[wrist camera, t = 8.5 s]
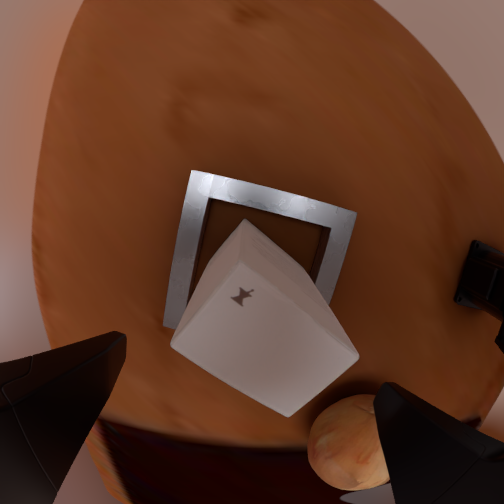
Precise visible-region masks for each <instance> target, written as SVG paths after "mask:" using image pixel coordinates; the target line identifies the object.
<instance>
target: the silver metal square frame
mask: <svg viewBox="0 0 504 504" xmlns="http://www.w3.org/2000/svg"><path fill="white" fill-rule="evenodd" d="M212 198H215V199H219V200H224V201H228V202H232V203H236V204H241V205H245V206H249V207H253V208H257V209H261V210H265V211H269V212H273V213H277V214H281V215H285V216H289V217H292V218H296V219H300V220H304V221H308V222H311V223H315V224H319V225H322V226H324V227H323V231H322V235H321V238H320V242H319V245H318V249H317V252H316V256H315V259H314V262H313V266H312V269H311V272H310V276H309V277H310V278H311V280H312V282H313V283H314V285H315V286H316V288H317V289H318V291H319V292H320V294H321V295H322V297H323V298H324V300H325V301H326V303H327V304H328V306H329V303H330V300H331V298H332V295H333V292H334V289H335V286H336V283H337V280H338V277H339V274H340V270H341V267H342V264H343V261H344V258H345V254H346V251H347V248H348V244H349V241H350V237H351V234H352V230H353V227H354V223H355V219H356V216H357V213H356V212H353V211H350V210H347V209H344V208H340V207H337V206H334V205H330V204H327V203H324V202H320V201H317V200H313V199H310V198H306V197H303V196H299V195H295V194H292V193H288V192H284V191H280V190H277V189H273V188H269V187H265V186H261V185H257V184H253V183H249V182H244V181H240V180H236V179H232V178H227V177H223V176H218V175H214V174H209V173H204V172H200V171H195V170H191V174H190V179H189V183H188V187H187V192H186V196H185V201H184V205H183V210H182V215H181V219H180V224H179V229H178V234H177V240H176V245H175V250H174V256H173V262H172V267H171V273H170V280H169V286H168V292H167V299H166V306H165V313H164V321H163V326H165V327H168V328H172V329H177V327H178V325H179V323H180V321H181V318H182V316H183V314H184V312H185V310H186V307H187V305H188V303H189V301H190V299H191V295H192V290H193V285H194V280H195V274H196V269H197V264H198V259H199V255H200V250H201V245H202V240H203V236H204V231H205V226H206V222H207V217H208V213H209V209H210V204H211V200H212Z"/></svg>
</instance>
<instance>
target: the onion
mask: <svg viewBox="0 0 504 504" xmlns="http://www.w3.org/2000/svg"><path fill="white" fill-rule="evenodd" d="M374 398H375V395H369V394H358V395H354V396H350V397H347V398H344V399H341V400H339V401H338V402H336V403H334V404H332V405H331V406H329V407H328V408H326V409H325V410H324V411H323V412H322V413H321V414H320V415H318V417H317V418H316V420H315V421H314V423H313V425H312V428H311V431H310V435H309V439H308V458H309V462H310V464H311V466H312V468H313V470H314V471H315V472H316V473H317V474H318V476H320V477H321V478H322V479H323V480H324V481H325V482H326V483H328V484H330V485H331V486H333V487H336V488H339V489H343V490H363V489H369V488H373V487H376V486H379V485H382V484H384V483H386V482H387V481H388V480H389V479H390V478H389V474H388V470H387V466H386V462H385V458H384V454H383V451H382V447H381V443H380V440H379V435H378V430H377V424H376V418H375V413H374V407H373V400H374Z"/></svg>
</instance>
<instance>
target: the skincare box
mask: <svg viewBox="0 0 504 504" xmlns="http://www.w3.org/2000/svg"><path fill="white" fill-rule="evenodd" d="M170 345H171V347H172V348H173V349H175V350H176V351H178V352H179V353H180V354H182V355H183V356H185V357H186V358H188V359H189V360H191V361H192V362H194V363H195V364H197V365H198V366H200V367H201V368H203V369H204V370H206V371H207V372H209V373H210V374H212V375H214V376H215V377H217V378H218V379H220V380H222V381H223V382H225V383H227V384H228V385H230V386H232V387H233V388H235V389H237V390H239V391H240V392H242V393H244V394H246V395H247V396H249V397H251V398H253V399H254V400H256V401H258V402H260V403H262V404H263V405H265V406H267V407H269V408H271V409H273V410H275V411H277V412H278V413H280V414H282V415H284V416H286V417H290V416H291V415H292V414H294V413H295V412H296V411H298V410H299V409H300V408H301V407H303V406H304V405H305V404H306V403H308V402H309V401H310V400H311V399H313V398H314V397H315V396H316V395H317V394H319V393H320V392H321V391H322V390H324V389H325V388H326V387H327V386H328V385H330V384H331V383H332V382H333V381H334V380H335V379H337V378H338V377H339V376H340V375H341V374H342V373H344V372H345V371H346V370H347V369H348V368H349V367H350V366H352V365H353V364H354V363H355V362H356V361H357V360H358V359H359V354H358V352H357V350H356V349H355V347H354V346H353V344H352V342H351V341H350V339H349V338H348V336H347V334H346V333H345V331H344V329H343V328H342V326H341V325H340V323H339V321H338V320H337V318H336V317H335V315H334V314H333V312H332V310H331V309H330V307H329V306H328V304H327V303H326V301H325V300H324V298H323V297H322V295H321V294H320V292H319V291H318V289H317V288H316V286H315V285H314V283H313V282H312V280H311V278H310V277H309V275H308V274H307V272H306V271H305V269H304V268H303V267H302V266H301V265H300V264H299V263H297V262H296V261H295V260H294V259H293V258H292V257H290V256H289V255H288V254H287V253H286V252H285V251H283V250H282V249H281V248H280V247H279V246H278V245H276V244H275V243H274V242H273V241H272V240H271V239H269V238H268V237H267V236H266V235H265V234H263V233H262V232H261V231H260V230H259V229H257V228H256V227H255V226H254V225H253V224H251V223H250V222H249V221H248V220H247V219H243V221H242V222H241V223H240V224H239V225H238V226H237V228H236V229H235V230H234V231H233V232H232V233H231V235H230V236H229V237H228V238H227V239H226V240H225V242H224V243H223V244H222V245H221V247H220V248H219V249H218V250H217V252H216V253H215V254H214V255H213V257H212V258H211V259H210V260H209V262H208V264H207V266H206V268H205V270H204V272H203V274H202V276H201V278H200V280H199V283H198V285H197V287H196V289H195V291H194V293H193V295H192V297H191V299H190V301H189V303H188V305H187V307H186V310H185V312H184V314H183V316H182V318H181V321H180V323H179V325H178V327H177V329H176V331H175V333H174V335H173V337H172V340H171V342H170Z"/></svg>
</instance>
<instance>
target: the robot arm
mask: <svg viewBox="0 0 504 504" xmlns="http://www.w3.org/2000/svg"><path fill="white" fill-rule="evenodd" d="M458 299H459V300H458ZM454 301H455V303H457V304H459V305H463V306H467V307H472V308H476V309H481V310H484V311H486V312H487V313H489V314H490V315H492V316H494V317H495V318H497V319H498V320H500V321H501V322H502V324H501V327H500V330H499V333H498V336H496V339H495V343H496V344H497V345H498V347H499V348H500V349H501V351H502V352H503V353H504V253H502V252H500V251H498V250H496V249H494V248H492V247H490V246H488V245H486V244H484V243H482V242H480V241H477V240H474V241H473V242H472V246H471V249H470V253H469V256H468V260H467V263H466V266H465V269H464V273H463V276H462V279H461V282H460V284H459V287H458V290H457V293H456V295H455V298H454ZM126 342H127V338H126V335H125V334H123V333H120V332H117V331H112V332H109V333H106V334H102V335H99V336H96V337H93V338H89V339H86V340H83V341H80V342H76V343H73V344H70V345H66V346H63V347H59V348H56V349H53V350H49V351H46V352H42V353H39V354H35V355H33V356H28V357H24V358H20V359H17V360H12V361H8V362H3V363H0V504H53V502H54V500H55V498H56V496H57V492H58V491H59V489H60V487H61V485H62V483H63V481H64V479H65V477H66V475H67V473H68V471H69V469H70V467H71V465H72V464H73V461H74V460H75V458H76V456H77V454H78V452H79V450H80V448H81V446H82V444H83V443H84V441H85V439H86V437H87V436H88V434H89V432H90V430H91V428H92V427H93V425H94V423H95V421H96V419H97V418H98V416H99V414H100V412H101V411H102V409H103V407H104V405H105V404H106V402H107V400H108V398H109V396H110V394H111V392H112V390H113V387H114V385H115V383H116V380H117V378H118V376H119V373H120V371H121V369H122V366H123V364H124V362H125V358H126ZM373 407H374V413H375V418H376V424H377V430H378V435H379V440H380V443H381V447H382V451H383V454H384V458H385V462H386V466H387V470H388V474H389V478H390V482H391V486H392V490H393V495H394V499H395V503H396V504H504V443H503V442H501V441H499V440H496V439H494V438H492V437H490V436H488V435H486V434H484V433H481V432H479V431H477V430H475V429H474V428H472V427H470V426H468V425H466V424H464V423H463V422H461V421H459V420H457V419H455V418H454V417H452V416H450V415H448V414H447V413H445V412H443V411H441V410H440V409H438V408H436V407H435V406H433V405H431V404H429V403H428V402H426V401H424V400H423V399H421V398H419V397H418V396H416V395H414V394H413V393H411V392H409V391H408V390H406V389H404V388H403V387H401V386H399V385H398V384H396V383H394V382H385V383H383V384H382V386H381V388H380V389H379V391H378V393H377V394H376V396H375V398H374V400H373Z"/></svg>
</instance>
